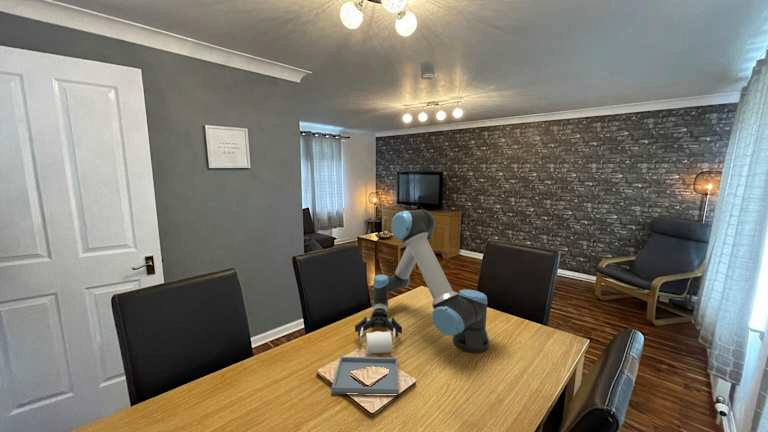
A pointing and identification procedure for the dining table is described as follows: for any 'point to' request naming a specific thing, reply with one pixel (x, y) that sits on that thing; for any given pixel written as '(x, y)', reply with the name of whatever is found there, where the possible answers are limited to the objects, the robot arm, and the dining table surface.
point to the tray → (347, 364)
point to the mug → (378, 342)
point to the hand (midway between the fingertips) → (377, 339)
